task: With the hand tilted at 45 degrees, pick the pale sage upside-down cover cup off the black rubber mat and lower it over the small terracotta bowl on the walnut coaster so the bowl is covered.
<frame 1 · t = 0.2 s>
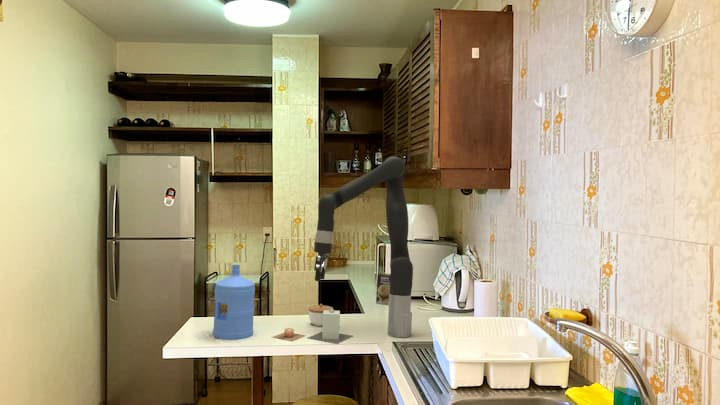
hand: (319, 280, 208), 22 cm above the kitchen counter, tool pointing down, fingers open, 8 cm apart
coffee box: (385, 303, 272), on the kitchen counter
mat: (330, 338, 199), on the kitchen counter
coaster: (288, 337, 197), on the kitchen counter
lidded jar: (320, 325, 219), on the kitchen counter
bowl: (288, 336, 197), resting on coaster
water jug: (233, 335, 198), on the kitchen counter
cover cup: (330, 337, 199), resting on mat
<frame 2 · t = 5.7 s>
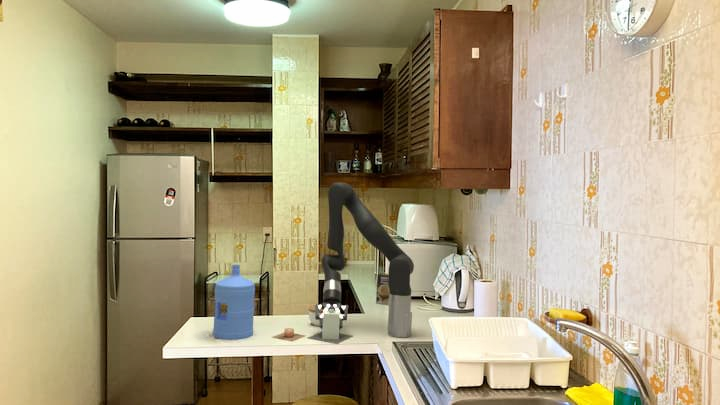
hand: (330, 328, 198), 4 cm above the kitchen counter, tool tilted 45°, fingers closed on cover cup, 6 cm apart
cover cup: (330, 337, 199), resting on mat, touching gripper
everything else where it was.
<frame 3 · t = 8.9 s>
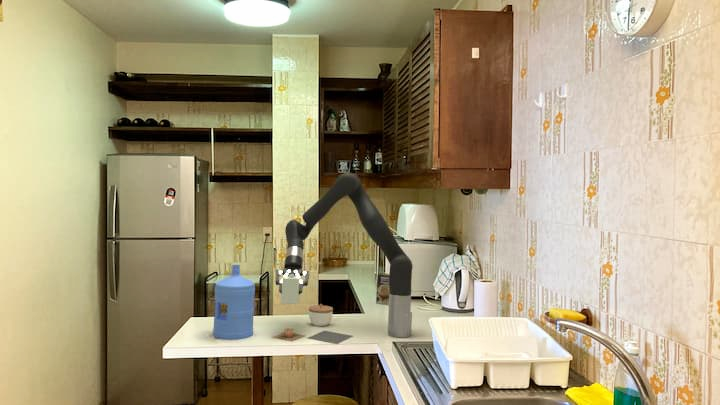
hand: (290, 292, 196), 18 cm above the kitchen counter, tool tilted 45°, fingers closed on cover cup, 6 cm apart
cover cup: (290, 302, 198), point 14 cm above the kitchen counter, touching gripper
everything else where it was.
when the fingers open (6 cm above the kitchen counter, at t = 12.2 s): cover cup drops 1 cm, resting on coaster.
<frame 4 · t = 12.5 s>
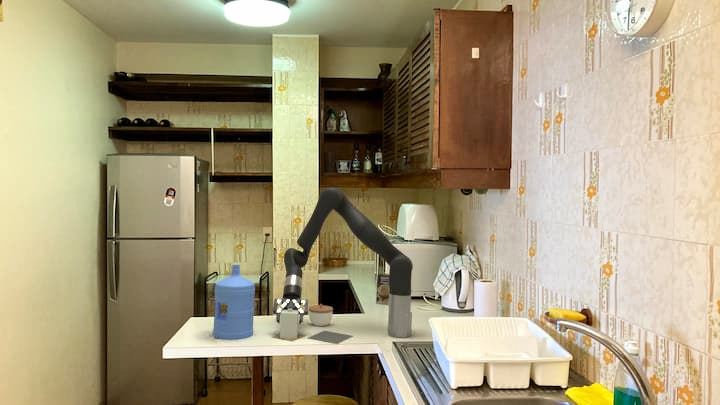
hand: (289, 322, 196), 6 cm above the kitchen counter, tool tilted 45°, fingers open, 8 cm apart
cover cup: (289, 336, 198), resting on coaster
everything else where it was.
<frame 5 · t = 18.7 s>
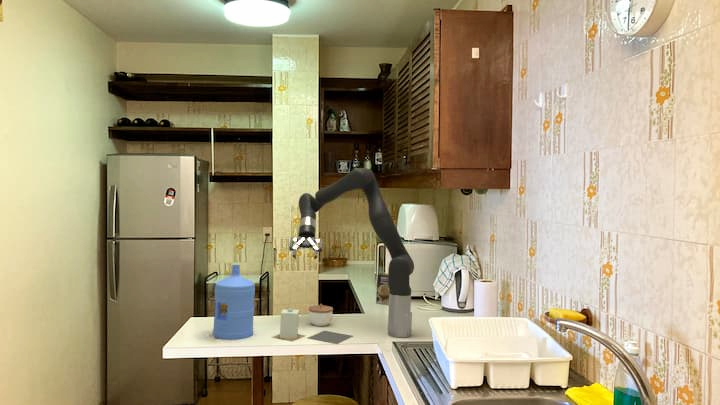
hand: (304, 257, 210), 31 cm above the kitchen counter, tool tilted 45°, fingers open, 8 cm apart
nothing on the kitchen counter moved.
at the end: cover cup 0.1 cm from the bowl (horizontally); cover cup resting on coaster; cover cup tilted 0° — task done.
